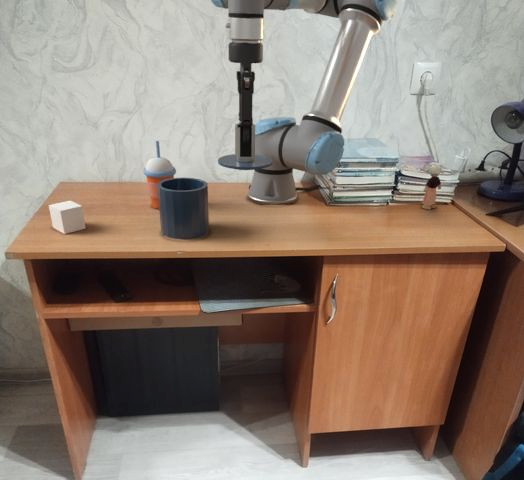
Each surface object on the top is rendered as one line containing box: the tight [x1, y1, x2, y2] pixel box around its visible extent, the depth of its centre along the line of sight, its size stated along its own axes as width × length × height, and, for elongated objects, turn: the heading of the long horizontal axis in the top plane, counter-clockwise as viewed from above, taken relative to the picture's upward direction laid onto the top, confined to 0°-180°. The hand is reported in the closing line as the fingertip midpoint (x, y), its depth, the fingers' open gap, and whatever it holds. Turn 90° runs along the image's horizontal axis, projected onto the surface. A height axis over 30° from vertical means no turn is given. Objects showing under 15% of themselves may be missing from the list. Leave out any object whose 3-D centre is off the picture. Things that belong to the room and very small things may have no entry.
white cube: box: [48, 200, 87, 235], centre depth 134 cm, size 6×6×6 cm
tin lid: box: [217, 122, 272, 171], centre depth 124 cm, size 13×13×9 cm
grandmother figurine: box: [421, 163, 442, 210], centre depth 154 cm, size 8×4×13 cm, turn 139°
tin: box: [157, 177, 210, 241], centre depth 132 cm, size 12×12×12 cm
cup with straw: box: [142, 140, 177, 210], centre depth 148 cm, size 9×9×18 cm
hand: (245, 153), depth 125 cm, fingers closed on tin lid, 5 cm apart
